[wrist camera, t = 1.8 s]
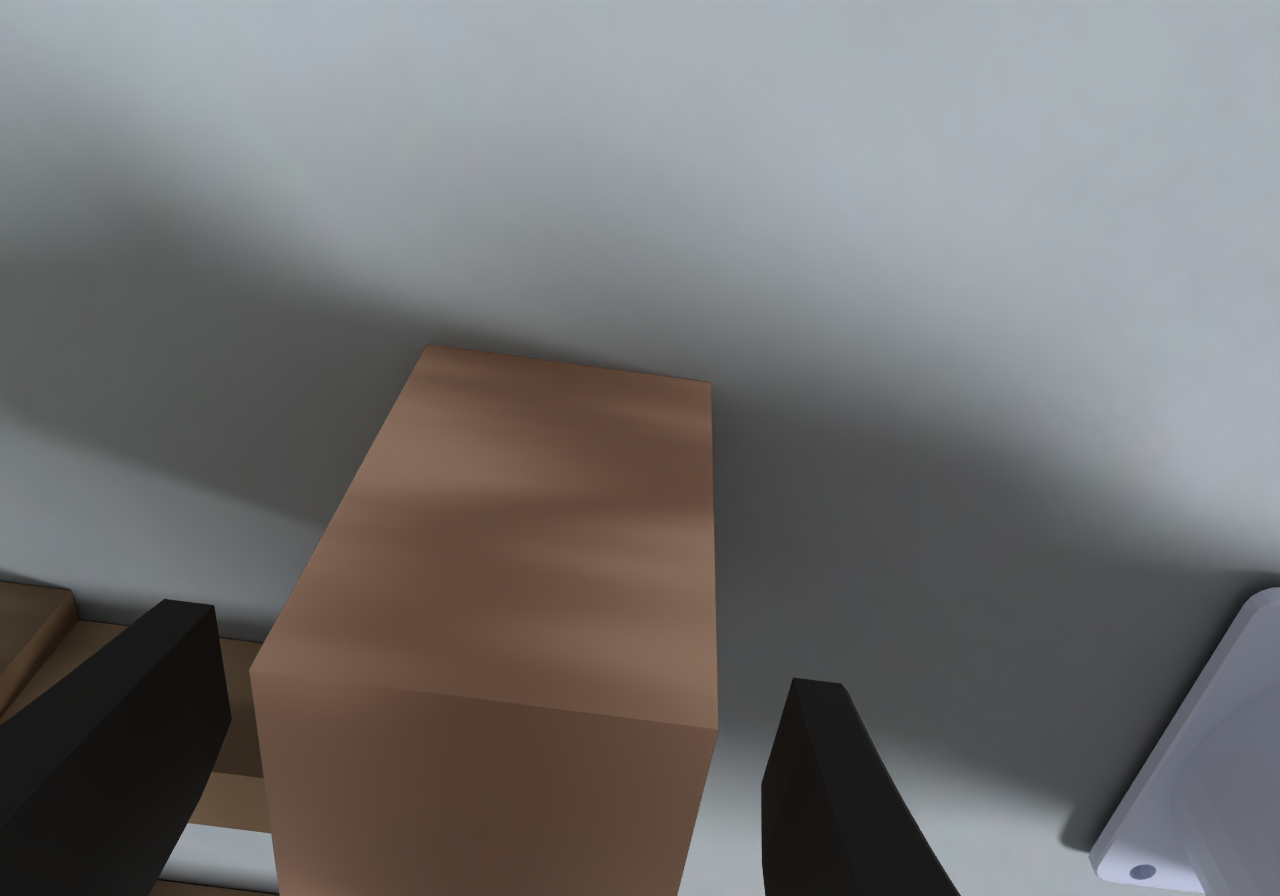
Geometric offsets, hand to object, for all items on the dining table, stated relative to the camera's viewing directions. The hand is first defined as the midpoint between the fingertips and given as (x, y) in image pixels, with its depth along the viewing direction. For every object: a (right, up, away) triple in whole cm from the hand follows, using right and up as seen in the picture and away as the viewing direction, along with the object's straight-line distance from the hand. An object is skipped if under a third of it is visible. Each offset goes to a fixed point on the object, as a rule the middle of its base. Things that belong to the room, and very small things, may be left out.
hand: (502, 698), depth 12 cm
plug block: (0, +3, +4) cm, 5 cm away
